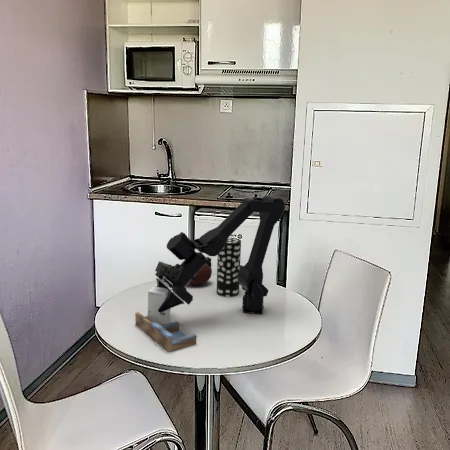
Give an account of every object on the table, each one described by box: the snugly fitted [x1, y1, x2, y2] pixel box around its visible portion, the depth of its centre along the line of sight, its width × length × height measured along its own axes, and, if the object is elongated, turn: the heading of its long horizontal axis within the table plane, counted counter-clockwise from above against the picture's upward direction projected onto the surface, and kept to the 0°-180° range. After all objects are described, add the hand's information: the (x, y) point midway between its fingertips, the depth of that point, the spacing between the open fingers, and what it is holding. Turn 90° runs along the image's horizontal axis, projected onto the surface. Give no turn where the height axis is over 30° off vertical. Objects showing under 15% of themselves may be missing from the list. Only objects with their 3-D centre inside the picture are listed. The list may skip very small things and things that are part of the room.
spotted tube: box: [216, 237, 242, 298], centre depth 179 cm, size 8×8×20 cm
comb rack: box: [135, 311, 198, 353], centre depth 146 cm, size 21×9×5 cm, turn 36°
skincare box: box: [147, 286, 172, 326], centre depth 150 cm, size 6×4×12 cm
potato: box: [188, 264, 213, 286], centre depth 188 cm, size 9×12×9 cm
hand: (154, 307), depth 149 cm, fingers closed on skincare box, 7 cm apart
